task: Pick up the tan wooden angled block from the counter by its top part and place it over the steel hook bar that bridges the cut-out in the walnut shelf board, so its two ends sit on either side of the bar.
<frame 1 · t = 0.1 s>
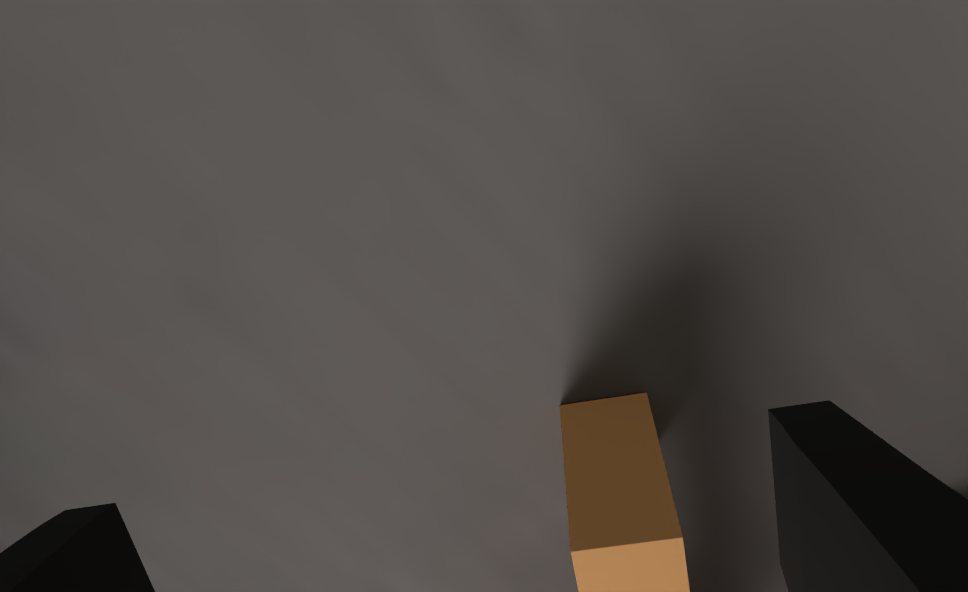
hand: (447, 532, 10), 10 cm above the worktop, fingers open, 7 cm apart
tan wooden angled block: (628, 552, 22), on the worktop
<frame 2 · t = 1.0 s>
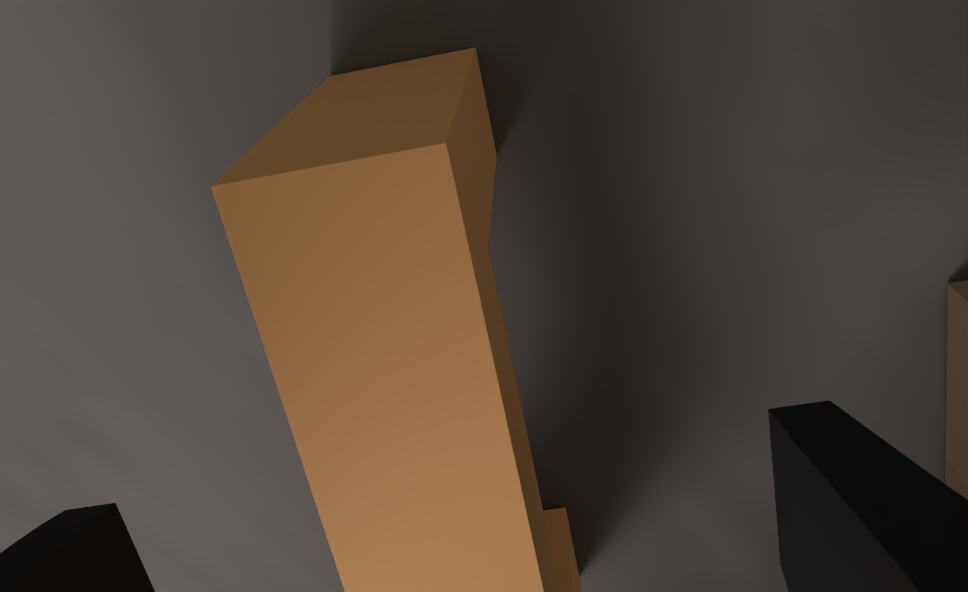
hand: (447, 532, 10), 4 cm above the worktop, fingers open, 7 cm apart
tan wooden angled block: (469, 357, 14), on the worktop
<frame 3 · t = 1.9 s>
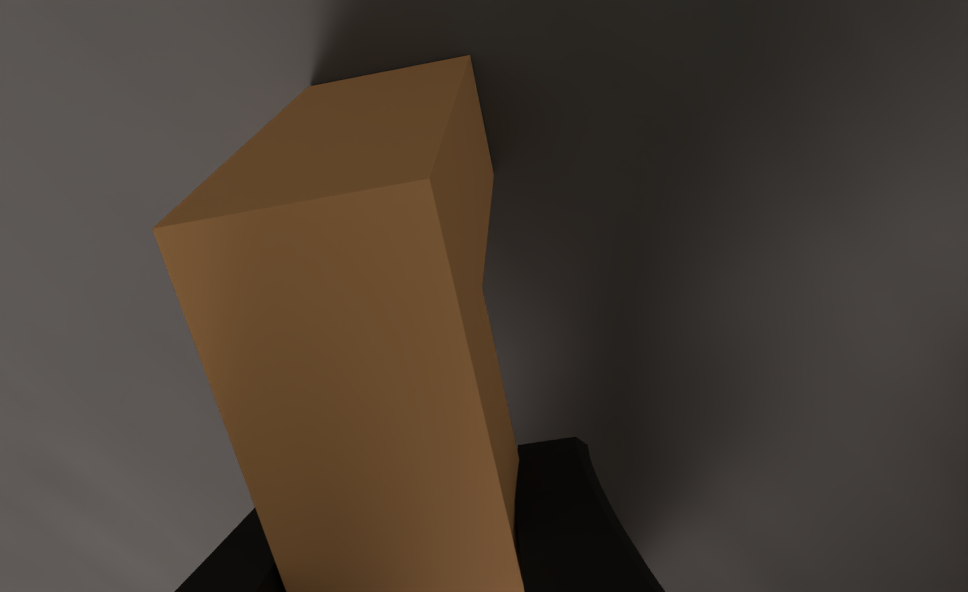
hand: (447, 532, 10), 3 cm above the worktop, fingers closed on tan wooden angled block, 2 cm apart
tan wooden angled block: (464, 391, 12), on the worktop, touching gripper
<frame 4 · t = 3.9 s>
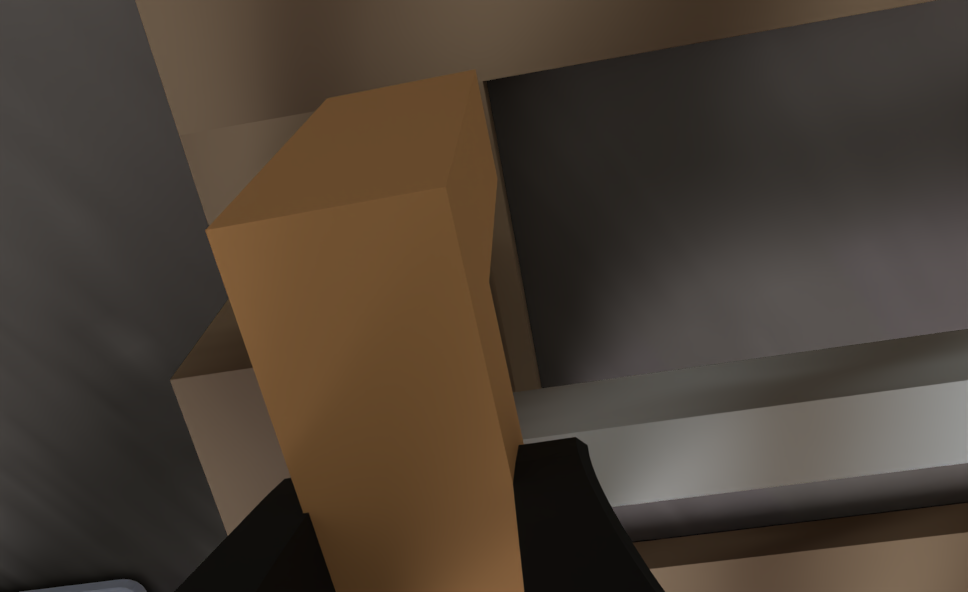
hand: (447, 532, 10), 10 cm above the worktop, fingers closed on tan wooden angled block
hook stand: (759, 306, 19), on the worktop
tan wooden angled block: (470, 379, 13), point 6 cm above the worktop, touching gripper
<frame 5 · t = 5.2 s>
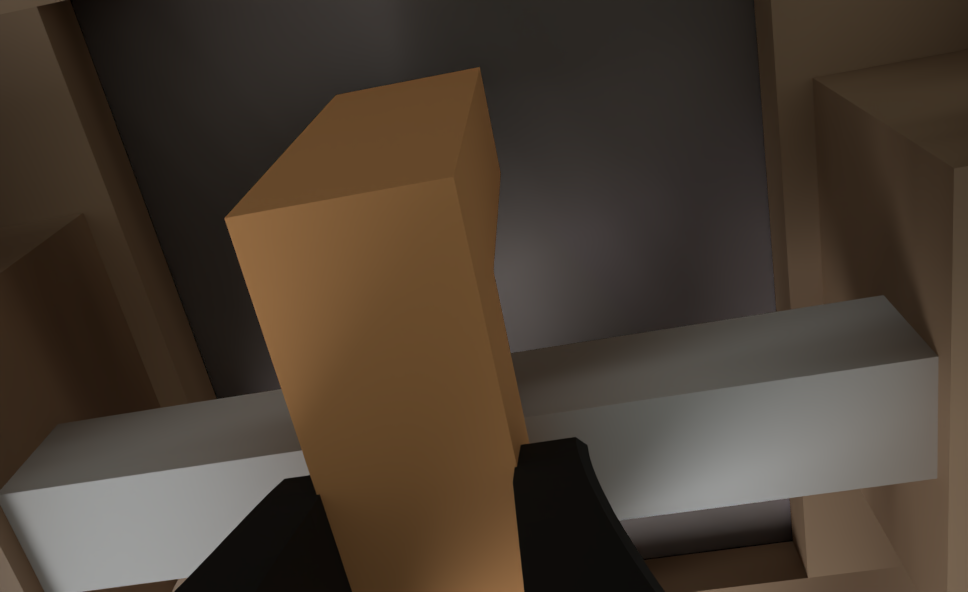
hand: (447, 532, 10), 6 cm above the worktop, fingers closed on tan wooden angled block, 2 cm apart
hook stand: (474, 302, 15), on the worktop
tan wooden angled block: (473, 369, 14), point 2 cm above the worktop, touching gripper, hook stand
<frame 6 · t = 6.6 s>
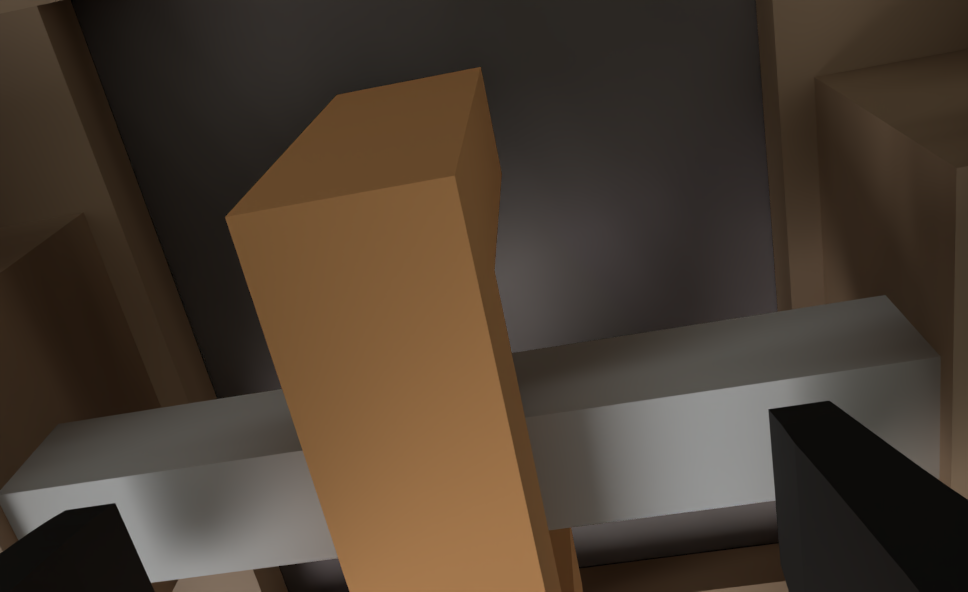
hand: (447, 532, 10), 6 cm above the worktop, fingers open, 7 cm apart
hook stand: (474, 302, 15), on the worktop
tan wooden angled block: (474, 369, 14), point 2 cm above the worktop, touching hook stand
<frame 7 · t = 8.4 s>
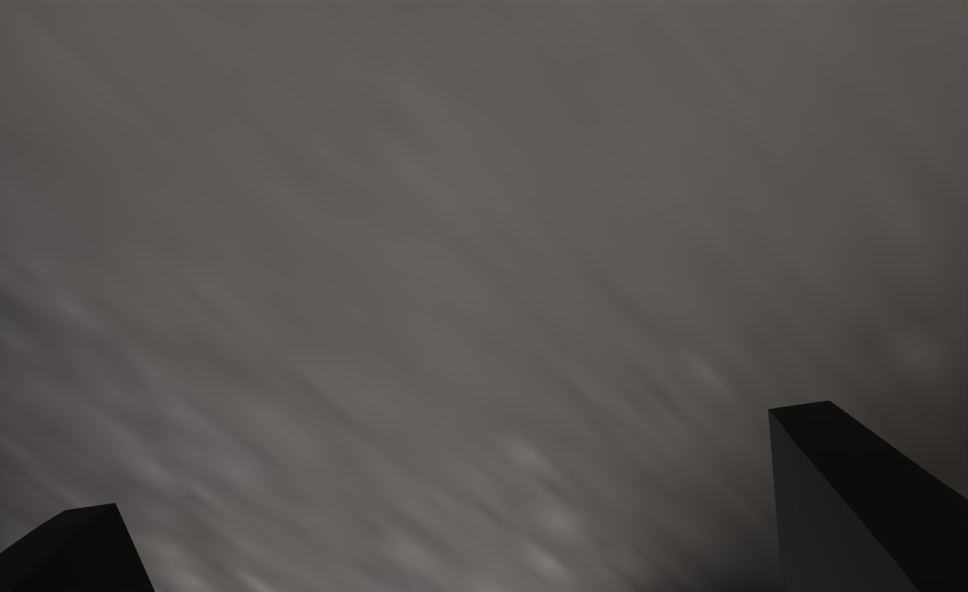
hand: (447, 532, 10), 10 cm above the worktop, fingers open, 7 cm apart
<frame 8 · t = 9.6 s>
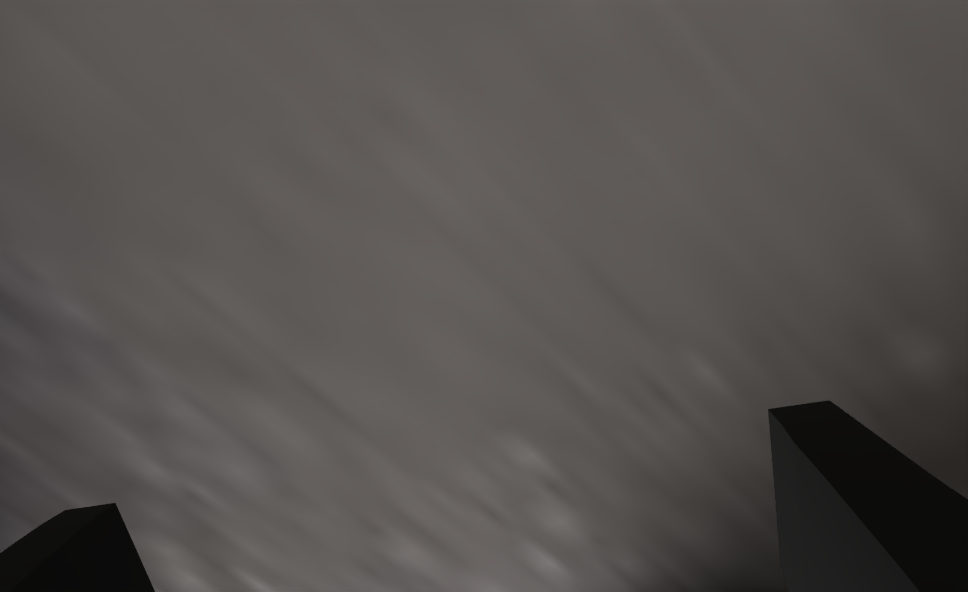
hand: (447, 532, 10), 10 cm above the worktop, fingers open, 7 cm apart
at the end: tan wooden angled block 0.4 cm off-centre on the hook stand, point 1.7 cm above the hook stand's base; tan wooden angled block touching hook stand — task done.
